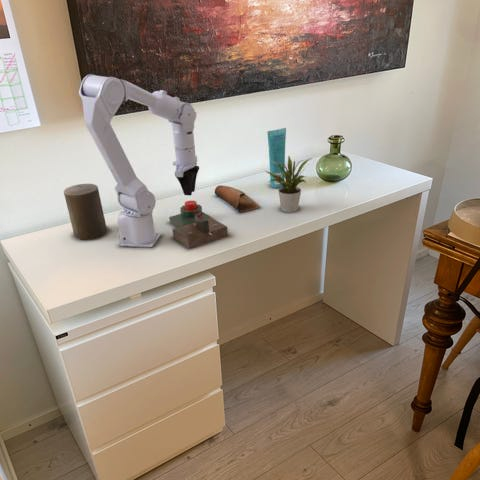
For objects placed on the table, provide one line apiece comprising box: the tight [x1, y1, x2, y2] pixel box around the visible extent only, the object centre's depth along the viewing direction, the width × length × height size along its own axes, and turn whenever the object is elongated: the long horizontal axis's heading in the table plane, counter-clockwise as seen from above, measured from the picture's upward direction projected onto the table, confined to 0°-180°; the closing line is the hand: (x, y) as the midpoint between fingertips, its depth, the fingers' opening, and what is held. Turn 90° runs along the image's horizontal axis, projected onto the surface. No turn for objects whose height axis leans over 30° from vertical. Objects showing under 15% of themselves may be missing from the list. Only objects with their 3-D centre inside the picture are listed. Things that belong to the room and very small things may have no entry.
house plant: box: [265, 155, 313, 213], centre depth 155 cm, size 14×14×16 cm
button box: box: [168, 203, 212, 228], centre depth 152 cm, size 10×9×4 cm
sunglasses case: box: [214, 185, 260, 213], centre depth 164 cm, size 18×7×7 cm
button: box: [184, 200, 198, 211], centre depth 152 cm, size 4×4×2 cm
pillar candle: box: [63, 183, 108, 241], centre depth 145 cm, size 10×10×15 cm
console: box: [172, 217, 229, 250], centre depth 142 cm, size 13×11×3 cm
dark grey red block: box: [195, 213, 209, 233], centre depth 140 cm, size 6×2×4 cm, turn 30°
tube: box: [266, 127, 287, 189], centre depth 171 cm, size 7×5×19 cm, turn 127°
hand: (189, 193), depth 150 cm, fingers closed
